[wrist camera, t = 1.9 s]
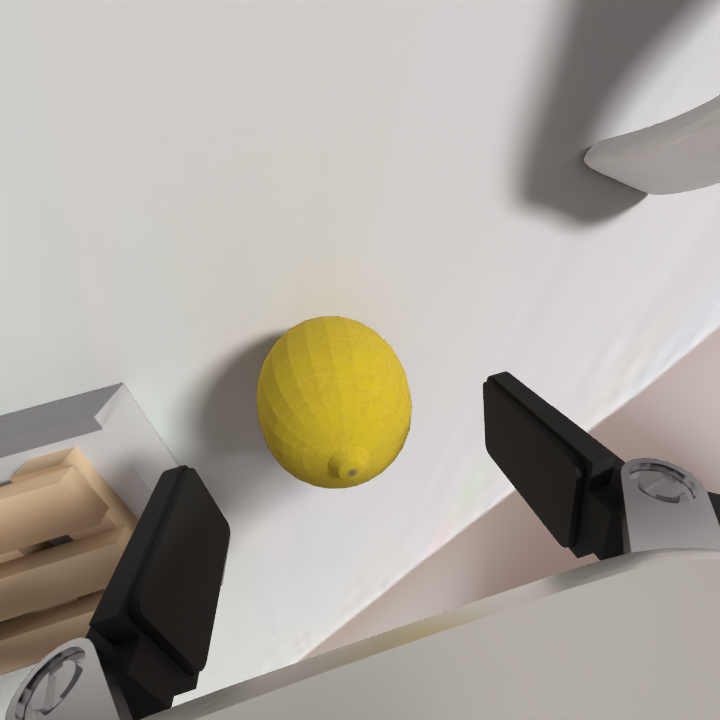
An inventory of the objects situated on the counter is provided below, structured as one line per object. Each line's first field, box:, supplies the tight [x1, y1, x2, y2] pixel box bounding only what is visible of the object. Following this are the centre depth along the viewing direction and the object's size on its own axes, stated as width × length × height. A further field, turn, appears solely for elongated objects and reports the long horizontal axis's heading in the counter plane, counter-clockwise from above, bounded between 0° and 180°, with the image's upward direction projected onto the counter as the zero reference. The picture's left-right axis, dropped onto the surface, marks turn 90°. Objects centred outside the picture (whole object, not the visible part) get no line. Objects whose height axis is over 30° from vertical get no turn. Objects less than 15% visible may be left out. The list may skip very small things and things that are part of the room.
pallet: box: [0, 446, 139, 675], centre depth 14 cm, size 10×10×2 cm
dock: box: [0, 383, 229, 615], centre depth 16 cm, size 12×12×3 cm
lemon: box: [257, 316, 412, 488], centre depth 12 cm, size 6×6×8 cm
